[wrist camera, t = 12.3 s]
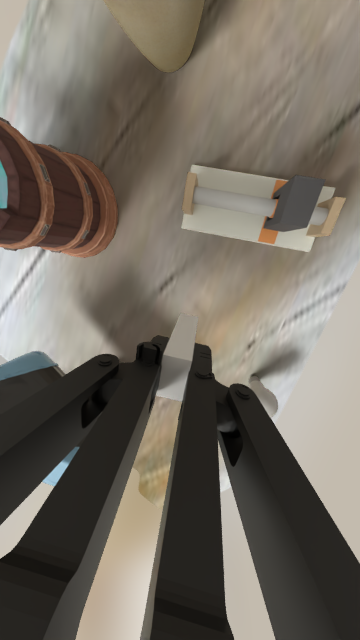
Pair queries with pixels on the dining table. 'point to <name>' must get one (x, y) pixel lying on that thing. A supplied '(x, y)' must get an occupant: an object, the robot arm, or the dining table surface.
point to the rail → (241, 218)
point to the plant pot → (160, 28)
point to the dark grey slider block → (295, 204)
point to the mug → (52, 198)
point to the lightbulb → (264, 396)
